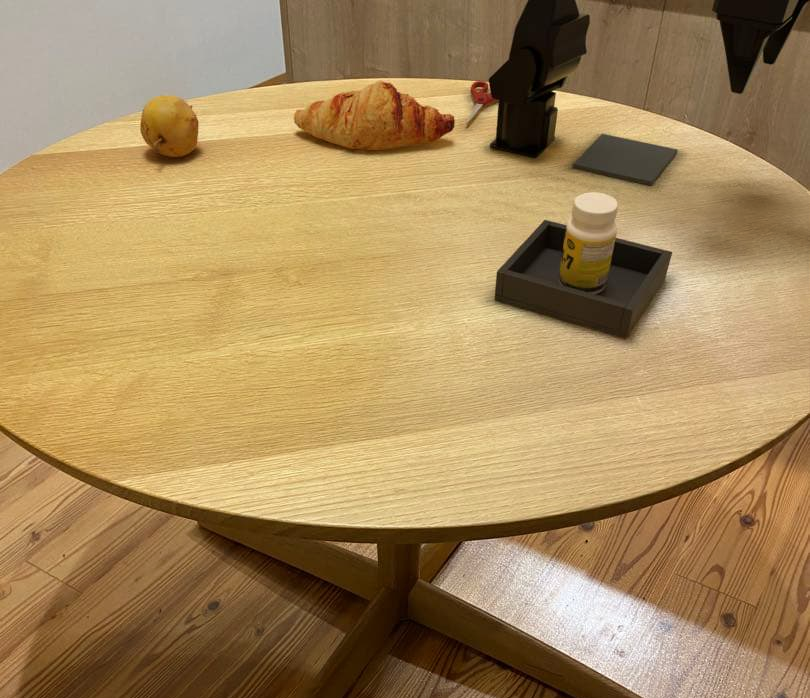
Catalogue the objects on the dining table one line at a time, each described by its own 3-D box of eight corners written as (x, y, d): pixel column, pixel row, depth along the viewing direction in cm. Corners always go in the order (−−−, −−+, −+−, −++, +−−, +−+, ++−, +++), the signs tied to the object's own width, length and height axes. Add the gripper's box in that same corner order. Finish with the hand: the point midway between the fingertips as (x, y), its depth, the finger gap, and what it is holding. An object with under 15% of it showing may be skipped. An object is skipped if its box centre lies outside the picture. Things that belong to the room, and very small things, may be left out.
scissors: (511, 91, 113) (511, 83, 112) (486, 130, 104) (486, 121, 103) (474, 86, 114) (474, 79, 113) (446, 124, 105) (446, 116, 105)
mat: (572, 167, 97) (572, 163, 96) (601, 137, 103) (602, 133, 102) (651, 185, 94) (652, 181, 93) (677, 153, 99) (677, 149, 99)
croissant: (293, 168, 105) (277, 124, 97) (305, 104, 107) (290, 55, 100) (451, 174, 102) (448, 129, 95) (460, 108, 105) (458, 59, 97)
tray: (494, 299, 78) (496, 271, 76) (541, 247, 85) (544, 219, 82) (626, 339, 74) (633, 310, 71) (665, 280, 80) (672, 251, 78)
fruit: (176, 125, 93) (213, 91, 99) (121, 103, 93) (161, 71, 99) (176, 179, 98) (211, 144, 104) (124, 159, 98) (163, 125, 104)
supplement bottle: (554, 272, 80) (566, 190, 74) (601, 271, 80) (616, 189, 74) (561, 298, 77) (574, 215, 71) (609, 297, 77) (627, 214, 71)
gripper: (886, -91, 59) (806, 129, 70) (940, -134, 69) (862, 65, 80) (739, -109, 63) (687, 102, 75) (810, -147, 73) (754, 44, 85)
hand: (753, 77), depth 78 cm, fingers open, 9 cm apart
